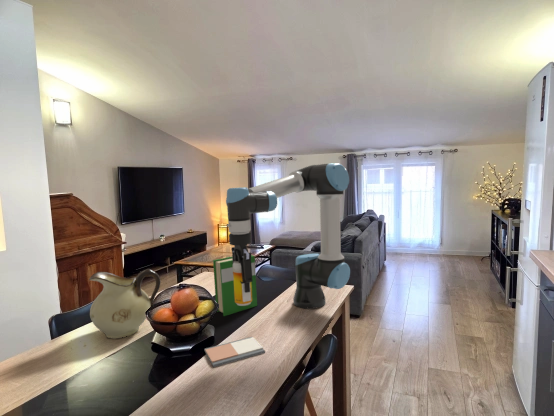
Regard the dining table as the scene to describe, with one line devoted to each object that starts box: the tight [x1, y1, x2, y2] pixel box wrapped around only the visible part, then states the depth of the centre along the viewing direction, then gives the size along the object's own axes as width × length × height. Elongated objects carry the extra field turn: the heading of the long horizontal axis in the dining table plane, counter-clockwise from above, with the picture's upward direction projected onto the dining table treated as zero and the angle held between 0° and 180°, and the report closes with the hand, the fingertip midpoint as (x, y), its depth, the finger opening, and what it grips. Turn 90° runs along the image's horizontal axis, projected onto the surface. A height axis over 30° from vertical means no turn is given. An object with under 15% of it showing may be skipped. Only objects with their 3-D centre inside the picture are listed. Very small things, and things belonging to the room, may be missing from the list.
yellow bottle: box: [233, 261, 252, 306], centre depth 119 cm, size 6×6×15 cm
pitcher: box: [89, 268, 162, 339], centre depth 139 cm, size 22×24×25 cm
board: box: [204, 336, 266, 368], centre depth 119 cm, size 18×12×1 cm, turn 115°
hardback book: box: [212, 254, 258, 317], centre depth 158 cm, size 18×7×24 cm, turn 127°
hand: (243, 297), depth 119 cm, fingers closed on yellow bottle, 6 cm apart
